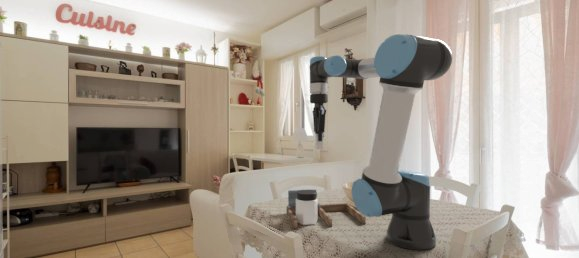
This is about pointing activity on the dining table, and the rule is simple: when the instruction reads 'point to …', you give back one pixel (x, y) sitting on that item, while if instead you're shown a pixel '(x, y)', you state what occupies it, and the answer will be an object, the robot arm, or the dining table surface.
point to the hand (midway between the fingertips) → (319, 148)
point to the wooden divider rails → (321, 210)
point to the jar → (306, 207)
